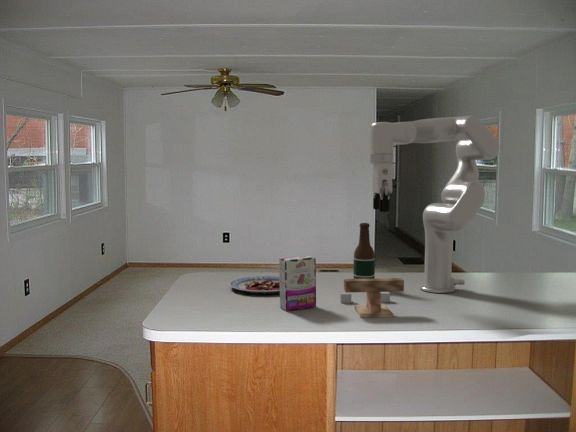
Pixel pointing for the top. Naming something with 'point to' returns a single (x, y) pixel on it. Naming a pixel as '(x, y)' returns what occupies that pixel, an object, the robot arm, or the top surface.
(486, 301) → the top surface
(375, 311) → the fulcrum
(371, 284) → the walnut bar
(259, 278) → the ceramic plate
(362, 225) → the beer bottle
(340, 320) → the top surface
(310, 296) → the candy bar box
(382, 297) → the grey cubes
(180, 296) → the top surface
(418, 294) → the top surface
